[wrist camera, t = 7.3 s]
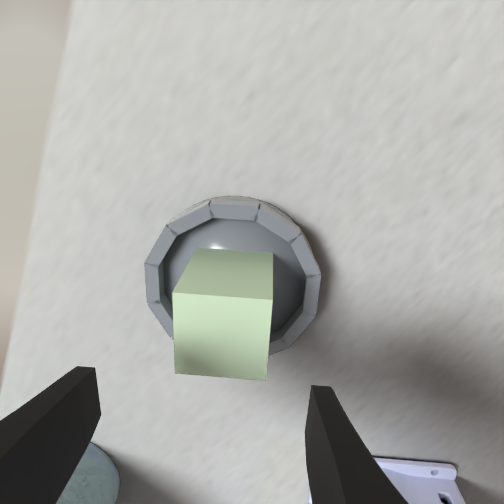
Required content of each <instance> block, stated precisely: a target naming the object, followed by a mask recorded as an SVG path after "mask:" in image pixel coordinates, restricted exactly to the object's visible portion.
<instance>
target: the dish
mask: <svg viewBox="0 0 504 504" xmlns="http://www.w3.org/2000/svg"><path fill="white" fill-rule="evenodd" d="M196 248H211V249H225V250H240V251H254V252H268V253H273V303H272V315H271V327H270V339H269V351H268V355H271V354H273V353H276V352H279V351H281V350H284V349H286V348H289V346H291V345H292V344H293V343H294V341H295V340H296V339H297V338H298V337H299V336H300V334H301V333H302V332H303V331H304V330H305V328H306V327H307V326H308V325H309V324H310V322H311V321H312V320H313V319H314V318H315V315H316V312H317V304H318V297H319V289H320V282H321V272H320V268H319V265H318V263H317V261H316V259H315V257H314V255H313V252H312V249H311V247H310V244H309V242H308V240H307V238H306V236H305V235H304V233H303V231H302V230H301V229H300V228H299V226H298V225H297V224H296V223H295V222H294V221H293V220H292V219H291V218H290V217H289V216H288V215H286V214H285V213H284V212H282V211H281V210H280V209H278V208H276V207H274V206H273V205H271V204H268V203H266V202H263V201H261V200H258V199H254V198H250V197H243V196H222V197H215V198H211V199H208V200H204V201H202V202H200V203H197V204H195V205H193V206H192V207H190V208H188V209H187V210H185V211H184V212H183V213H182V214H180V215H179V216H177V217H175V218H173V219H172V220H171V221H170V222H169V223H168V224H167V225H166V226H165V228H164V229H163V231H162V233H161V235H160V236H159V238H158V240H157V241H156V243H155V245H154V247H153V248H152V250H151V252H150V254H149V255H148V257H147V259H146V260H145V263H144V266H145V281H146V296H147V303H148V306H149V308H150V309H151V311H152V312H153V313H154V315H155V316H156V318H157V319H158V321H159V322H160V324H161V325H162V327H163V328H164V329H165V331H166V332H167V334H168V335H169V337H170V338H171V337H172V339H173V340H174V331H173V299H172V292H173V290H174V288H175V287H176V285H177V283H178V281H179V279H180V277H181V276H182V274H183V272H184V270H185V268H186V266H187V265H188V263H189V261H190V259H191V257H192V255H193V253H194V252H195V250H196Z"/></svg>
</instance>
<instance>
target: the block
mask: <svg viewBox="0 0 504 504" xmlns="http://www.w3.org/2000/svg"><path fill="white" fill-rule="evenodd" d="M172 299H173V331H174V362H175V373H176V374H189V375H201V376H214V377H226V378H238V379H251V380H263V381H266V375H267V363H268V351H269V339H270V327H271V315H272V303H273V253H268V252H254V251H240V250H225V249H211V248H196V250H195V252H194V253H193V255H192V257H191V259H190V261H189V263H188V265H187V266H186V268H185V270H184V272H183V274H182V276H181V277H180V279H179V281H178V283H177V285H176V287H175V288H174V290H173V292H172Z"/></svg>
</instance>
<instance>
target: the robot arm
mask: <svg viewBox="0 0 504 504" xmlns="http://www.w3.org/2000/svg"><path fill="white" fill-rule="evenodd" d="M100 416H101V410H100V402H99V394H98V387H97V379H96V372H95V368H92V367H80V366H77V367H75V368H74V369H72V370H71V371H70V372H68V373H67V374H65V375H64V376H63V377H61V378H60V379H59V380H57V381H56V382H54V383H53V384H52V385H50V386H49V387H48V388H46V389H45V390H44V391H42V392H41V393H39V394H38V395H37V396H35V397H34V398H33V399H31V400H30V401H28V402H27V403H26V404H24V405H23V406H21V407H20V408H19V409H17V410H16V411H14V412H13V413H11V414H10V415H8V416H7V417H5V418H4V419H2V420H1V421H0V504H56V503H57V501H58V499H59V497H60V496H61V494H62V492H63V490H64V488H65V487H66V485H67V483H68V481H69V480H70V478H71V476H72V474H73V473H74V471H75V469H76V467H77V465H78V464H79V462H80V460H81V458H82V456H83V455H84V453H85V451H86V449H87V447H88V445H89V443H90V441H91V438H92V436H93V434H94V431H95V429H96V426H97V424H98V421H99V419H100ZM305 446H306V465H307V472H308V479H309V485H310V495H309V501H308V504H466V503H465V501H464V499H463V497H462V495H461V493H460V491H459V489H458V487H457V484H456V482H455V478H456V475H457V471H456V469H455V467H454V466H453V465H451V464H443V463H431V462H419V461H407V460H395V459H383V458H373V456H372V455H371V453H370V452H369V450H368V449H367V447H366V446H365V444H364V443H363V441H362V440H361V438H360V436H359V435H358V433H357V432H356V430H355V429H354V427H353V425H352V424H351V422H350V420H349V419H348V417H347V415H346V413H345V412H344V410H343V408H342V406H341V404H340V402H339V401H338V399H337V397H336V395H335V393H334V391H333V389H332V388H331V387H328V386H316V385H311V392H310V399H309V406H308V414H307V421H306V428H305Z"/></svg>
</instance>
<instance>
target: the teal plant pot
mask: <svg viewBox="0 0 504 504" xmlns="http://www.w3.org/2000/svg"><path fill="white" fill-rule="evenodd" d="M119 485H120V478H119V473H118V470H117V468H116V466H115V464H114V463H113V461H112V460H111V459H110V457H109V456H108V455H107V454H106V453H105V452H103V451H102V450H101V449H100V448H99V447H97V446H96V445H94V444H92V443H91V442H90V443H89V445H88V447H87V449H86V451H85V453H84V455H83V456H82V458H81V460H80V462H79V464H78V465H77V467H76V469H75V471H74V473H73V474H72V476H71V478H70V480H69V481H68V483H67V485H66V487H65V488H64V490H63V492H62V494H61V496H60V497H59V499H58V501H57V503H56V504H115V503H116V500H117V496H118V493H119Z"/></svg>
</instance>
